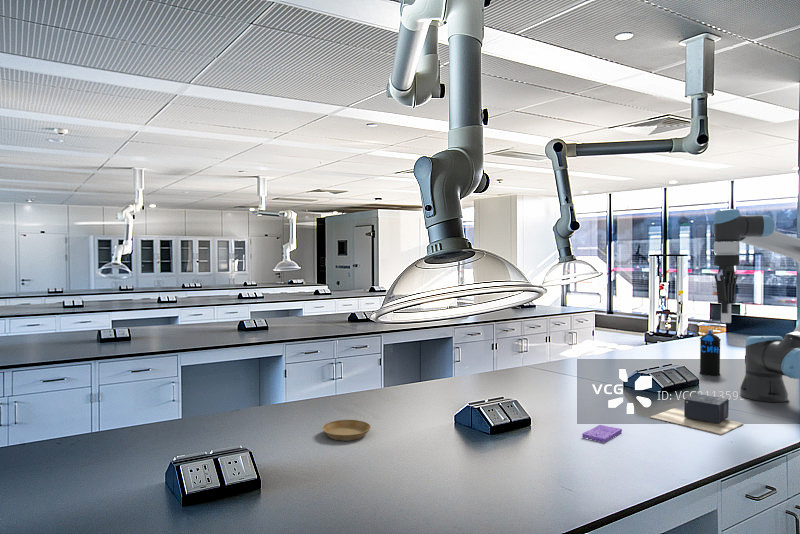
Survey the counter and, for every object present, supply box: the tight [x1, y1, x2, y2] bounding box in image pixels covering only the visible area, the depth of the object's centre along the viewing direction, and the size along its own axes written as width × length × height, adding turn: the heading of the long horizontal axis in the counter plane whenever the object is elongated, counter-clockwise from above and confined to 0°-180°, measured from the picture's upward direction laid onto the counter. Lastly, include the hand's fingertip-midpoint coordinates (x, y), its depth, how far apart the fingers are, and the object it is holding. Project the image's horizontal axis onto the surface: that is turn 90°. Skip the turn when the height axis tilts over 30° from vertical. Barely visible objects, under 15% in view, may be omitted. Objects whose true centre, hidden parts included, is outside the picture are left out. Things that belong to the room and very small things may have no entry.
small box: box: [683, 393, 730, 424], centre depth 182 cm, size 11×6×10 cm
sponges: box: [581, 424, 623, 443], centre depth 167 cm, size 7×13×2 cm, turn 137°
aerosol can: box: [699, 328, 722, 377], centre depth 247 cm, size 8×8×20 cm
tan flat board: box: [649, 407, 744, 436], centre depth 180 cm, size 16×22×1 cm
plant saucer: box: [321, 419, 371, 441], centre depth 170 cm, size 15×15×3 cm
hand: (726, 322), depth 192 cm, fingers closed
